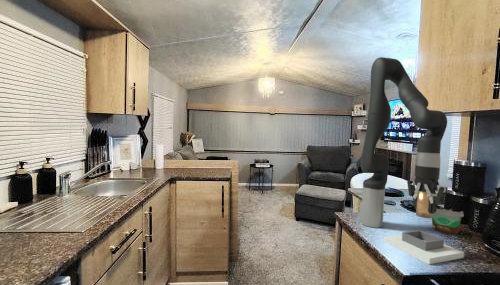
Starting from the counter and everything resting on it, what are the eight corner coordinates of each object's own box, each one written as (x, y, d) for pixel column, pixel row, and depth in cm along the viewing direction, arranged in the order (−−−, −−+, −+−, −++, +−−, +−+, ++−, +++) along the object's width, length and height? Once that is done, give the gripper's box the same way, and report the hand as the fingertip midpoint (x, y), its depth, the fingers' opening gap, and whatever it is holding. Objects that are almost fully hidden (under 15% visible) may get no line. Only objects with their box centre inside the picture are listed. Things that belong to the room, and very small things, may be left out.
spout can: (412, 214, 98) (414, 185, 98) (422, 213, 100) (424, 184, 99) (425, 218, 93) (427, 188, 93) (435, 217, 95) (437, 187, 95)
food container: (428, 230, 117) (430, 208, 117) (428, 226, 122) (430, 205, 122) (464, 237, 110) (466, 214, 110) (462, 233, 115) (464, 211, 115)
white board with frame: (384, 241, 103) (385, 229, 103) (415, 237, 109) (416, 225, 108) (429, 264, 86) (430, 249, 86) (463, 257, 92) (464, 243, 91)
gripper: (402, 162, 101) (399, 206, 102) (440, 167, 88) (436, 218, 89) (416, 162, 104) (413, 205, 105) (455, 167, 90) (452, 216, 91)
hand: (424, 210), depth 97 cm, fingers closed on spout can, 5 cm apart
